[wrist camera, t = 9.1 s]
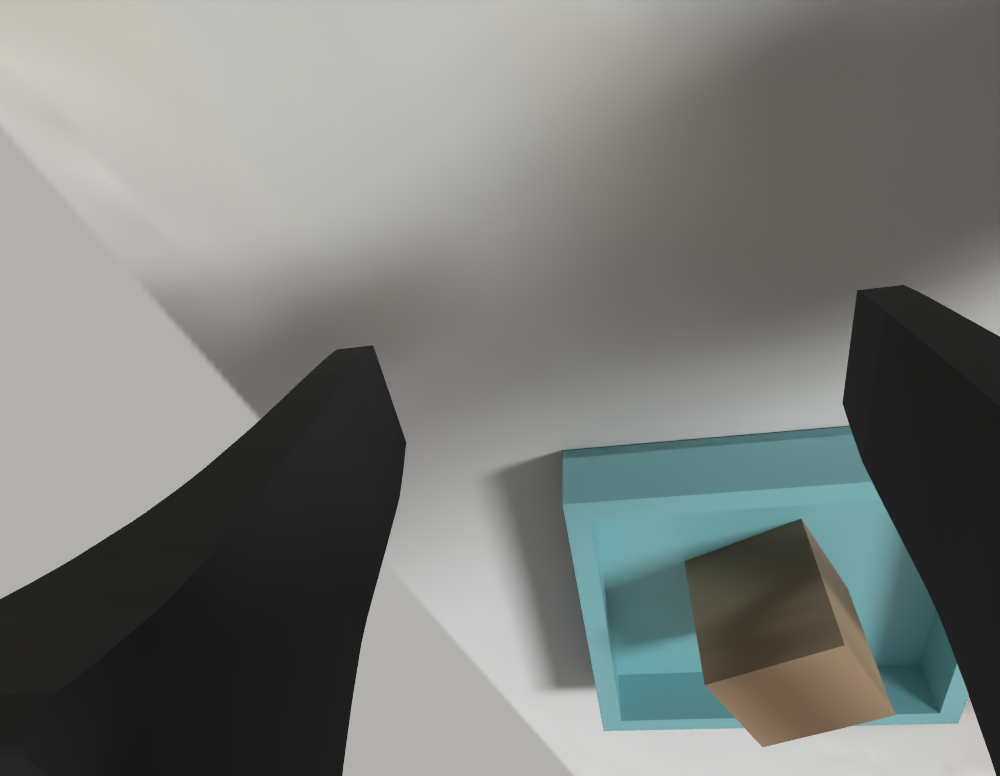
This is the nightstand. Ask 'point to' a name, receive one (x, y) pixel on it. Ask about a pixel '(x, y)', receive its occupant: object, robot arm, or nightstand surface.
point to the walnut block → (783, 638)
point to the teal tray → (718, 523)
